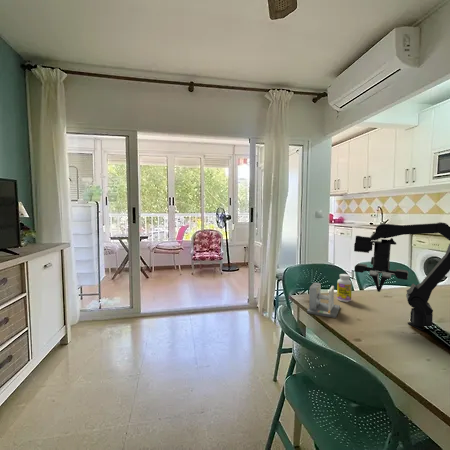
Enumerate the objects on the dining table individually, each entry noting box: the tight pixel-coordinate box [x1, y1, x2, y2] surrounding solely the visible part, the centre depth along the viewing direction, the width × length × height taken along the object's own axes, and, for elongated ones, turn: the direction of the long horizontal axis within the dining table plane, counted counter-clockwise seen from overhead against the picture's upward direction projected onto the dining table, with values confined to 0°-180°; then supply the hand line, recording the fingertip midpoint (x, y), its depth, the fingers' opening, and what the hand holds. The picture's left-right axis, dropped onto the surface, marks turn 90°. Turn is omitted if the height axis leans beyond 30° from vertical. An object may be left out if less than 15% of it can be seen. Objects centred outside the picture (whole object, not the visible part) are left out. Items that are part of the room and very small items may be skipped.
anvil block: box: [308, 282, 322, 311], centre depth 123 cm, size 3×10×10 cm, turn 150°
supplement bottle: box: [336, 273, 353, 303], centre depth 135 cm, size 7×7×13 cm
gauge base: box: [306, 301, 341, 319], centre depth 121 cm, size 12×14×1 cm
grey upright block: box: [318, 285, 335, 313], centre depth 120 cm, size 8×11×9 cm, turn 150°
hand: (378, 291), depth 110 cm, fingers closed
